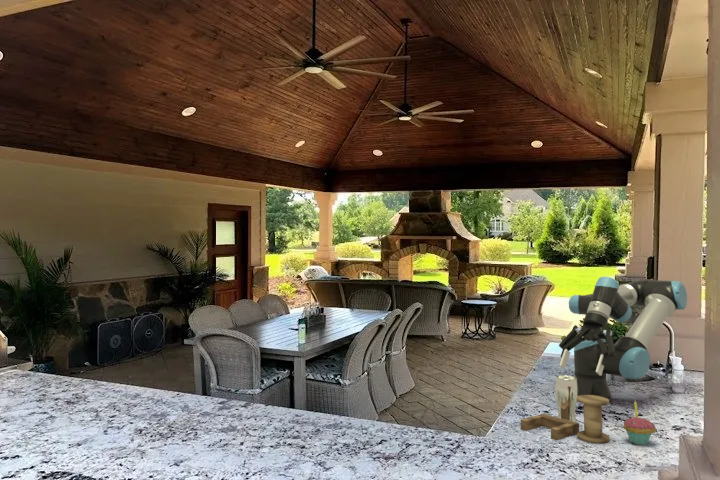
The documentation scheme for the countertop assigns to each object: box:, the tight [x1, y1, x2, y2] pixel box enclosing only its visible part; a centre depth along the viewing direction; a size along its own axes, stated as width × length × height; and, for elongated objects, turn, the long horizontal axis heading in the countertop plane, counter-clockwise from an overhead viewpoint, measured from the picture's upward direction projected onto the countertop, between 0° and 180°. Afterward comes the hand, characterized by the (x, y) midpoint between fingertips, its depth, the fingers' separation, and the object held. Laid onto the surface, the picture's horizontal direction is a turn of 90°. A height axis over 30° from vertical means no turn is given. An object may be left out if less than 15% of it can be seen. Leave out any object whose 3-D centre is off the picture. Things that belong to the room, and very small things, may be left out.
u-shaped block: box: [520, 413, 580, 441], centre depth 169 cm, size 12×13×3 cm
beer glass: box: [554, 374, 578, 423], centre depth 179 cm, size 7×7×15 cm
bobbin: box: [576, 395, 611, 445], centre depth 163 cm, size 9×9×12 cm
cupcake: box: [622, 401, 656, 446], centre depth 160 cm, size 9×8×12 cm
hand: (579, 370), depth 185 cm, fingers open, 13 cm apart
